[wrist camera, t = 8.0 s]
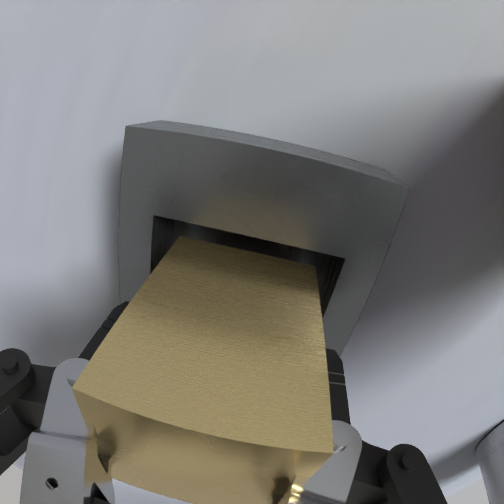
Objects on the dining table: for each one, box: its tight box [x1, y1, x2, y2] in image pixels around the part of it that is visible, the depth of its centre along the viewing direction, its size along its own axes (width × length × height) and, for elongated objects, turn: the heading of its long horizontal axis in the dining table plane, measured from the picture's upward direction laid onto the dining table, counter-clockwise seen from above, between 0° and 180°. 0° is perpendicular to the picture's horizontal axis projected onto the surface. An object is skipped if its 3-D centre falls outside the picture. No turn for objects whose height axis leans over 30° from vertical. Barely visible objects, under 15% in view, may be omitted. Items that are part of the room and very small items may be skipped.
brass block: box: [72, 236, 334, 504], centre depth 9 cm, size 5×5×7 cm
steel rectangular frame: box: [119, 120, 410, 357], centre depth 14 cm, size 9×20×3 cm, turn 169°
